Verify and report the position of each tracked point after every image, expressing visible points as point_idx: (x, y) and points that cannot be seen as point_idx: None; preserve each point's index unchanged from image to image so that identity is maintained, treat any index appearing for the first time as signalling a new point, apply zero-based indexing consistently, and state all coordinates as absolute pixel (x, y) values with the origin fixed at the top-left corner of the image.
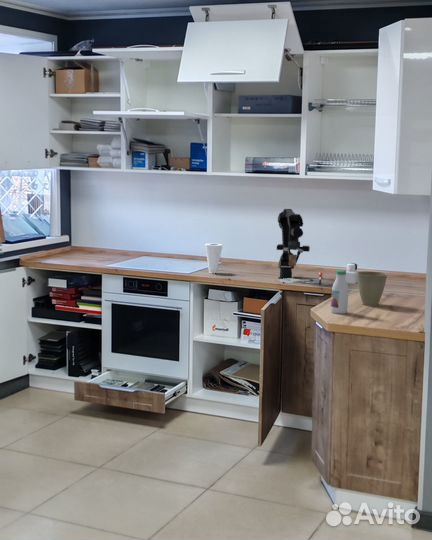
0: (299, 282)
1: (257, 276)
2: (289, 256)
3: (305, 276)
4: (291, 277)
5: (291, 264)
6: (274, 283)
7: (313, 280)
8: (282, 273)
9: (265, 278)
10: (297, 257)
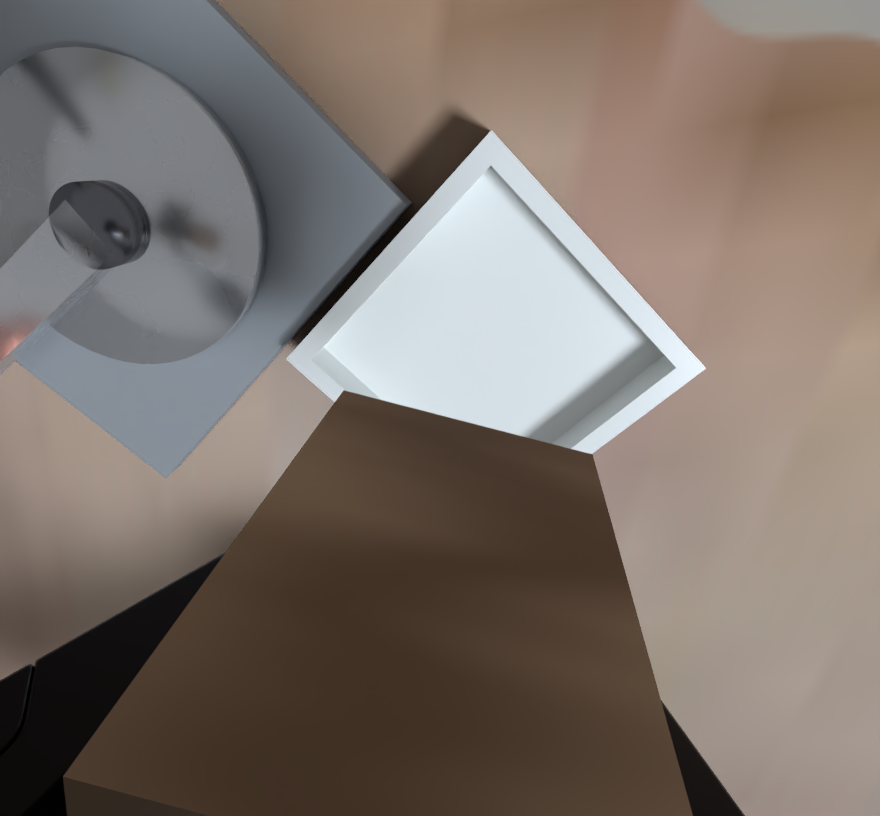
0: (344, 211)
1: (845, 798)
2: (660, 804)
3: None
4: None
5: (489, 449)
6: (831, 233)
7: (62, 211)
8: None
9: (791, 680)
10: (82, 677)
